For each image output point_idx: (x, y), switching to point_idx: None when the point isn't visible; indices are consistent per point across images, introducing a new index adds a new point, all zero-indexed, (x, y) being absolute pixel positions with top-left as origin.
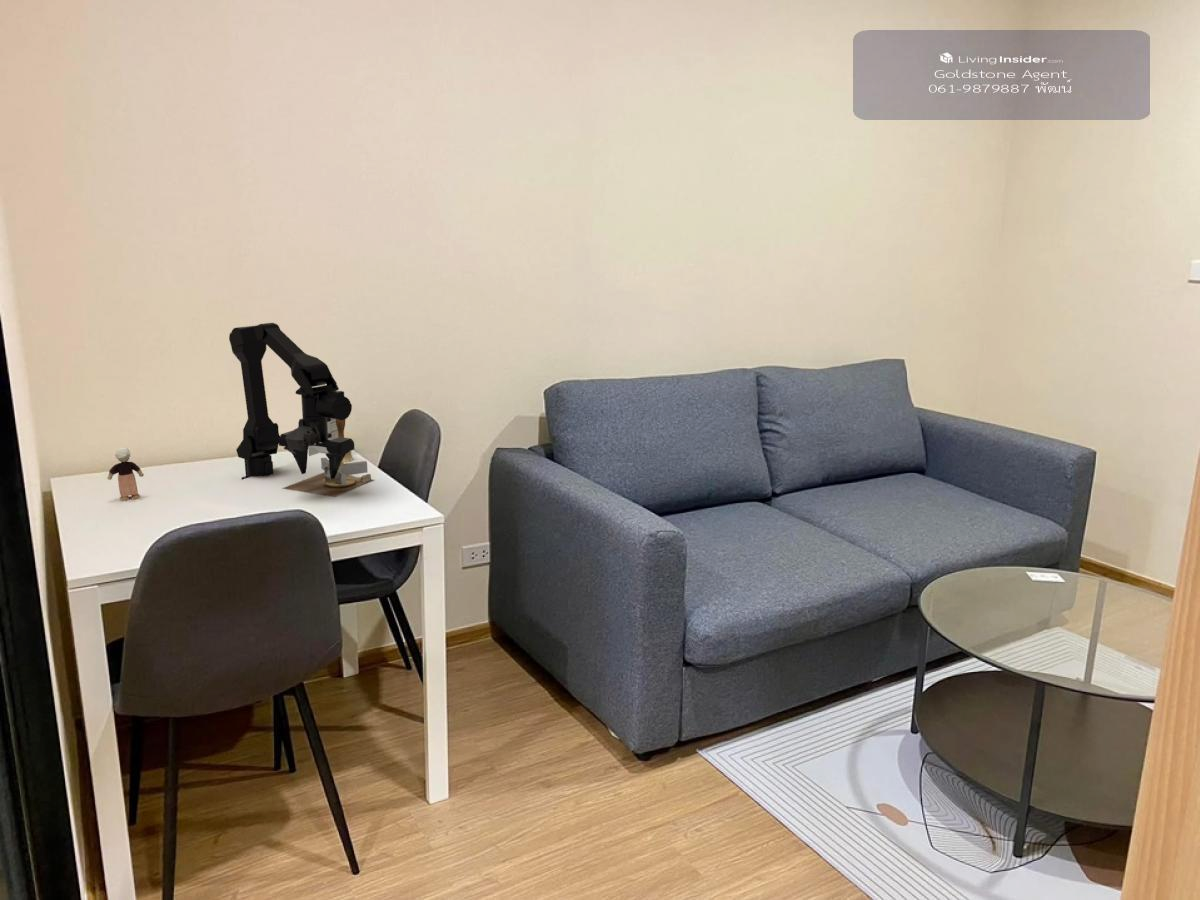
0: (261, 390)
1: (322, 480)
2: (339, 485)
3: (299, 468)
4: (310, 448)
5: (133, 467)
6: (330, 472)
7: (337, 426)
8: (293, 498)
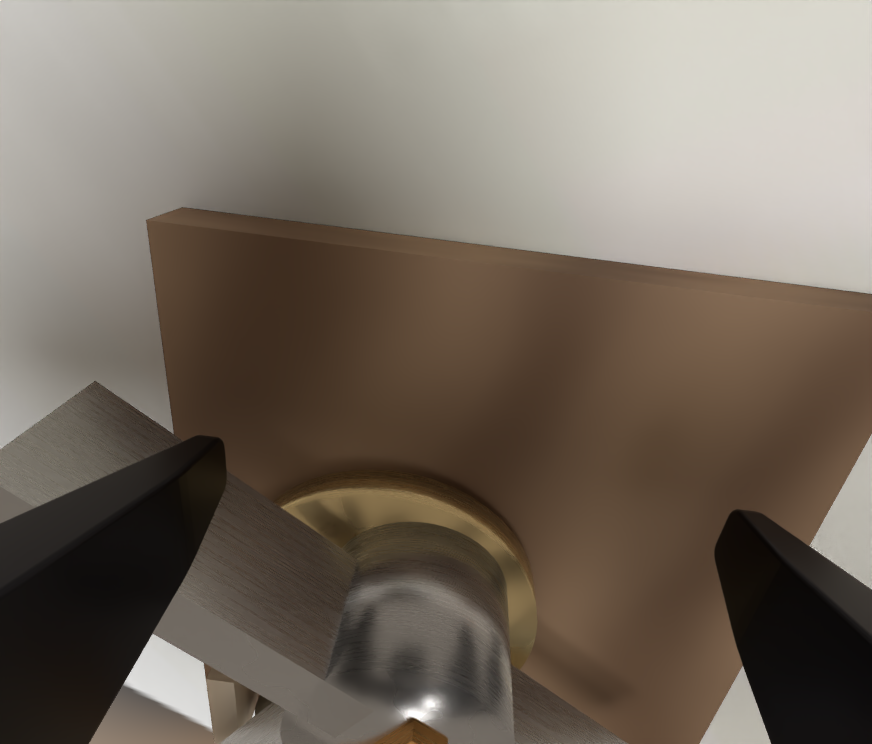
0: None
1: (593, 621)
2: (295, 496)
3: (836, 567)
4: None
5: None
6: (149, 479)
7: None
8: (695, 197)
